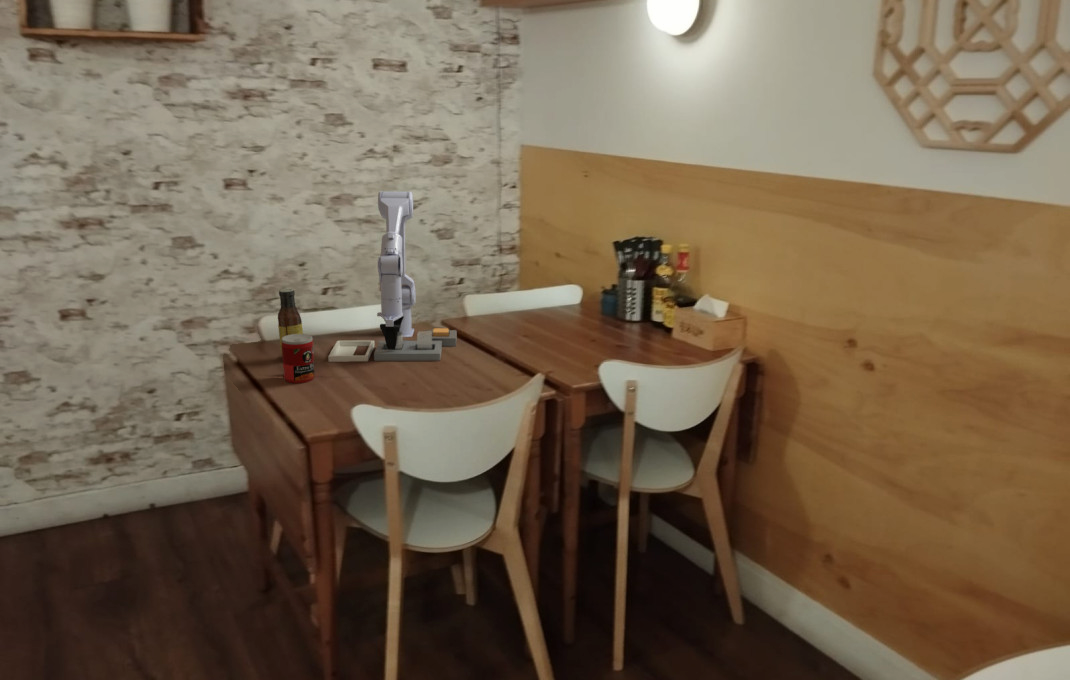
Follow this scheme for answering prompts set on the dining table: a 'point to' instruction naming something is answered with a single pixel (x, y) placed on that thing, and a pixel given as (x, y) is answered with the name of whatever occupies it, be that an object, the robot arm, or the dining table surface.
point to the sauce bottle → (288, 315)
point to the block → (424, 340)
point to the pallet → (408, 352)
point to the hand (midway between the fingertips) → (392, 344)
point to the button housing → (447, 338)
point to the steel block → (399, 342)
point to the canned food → (298, 358)
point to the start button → (441, 332)
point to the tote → (349, 351)
